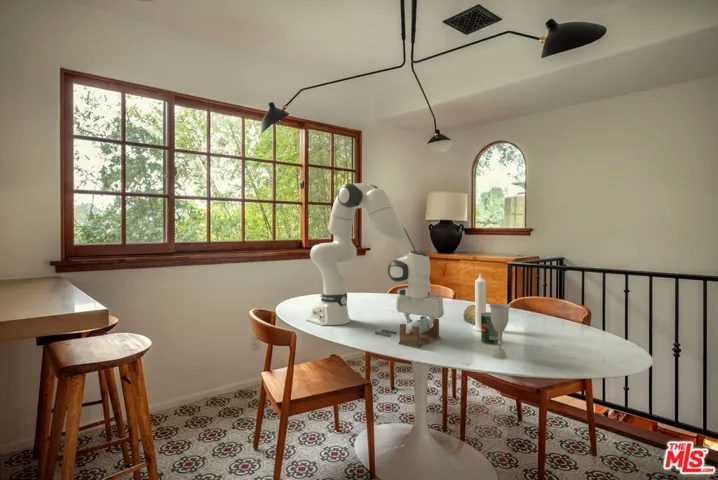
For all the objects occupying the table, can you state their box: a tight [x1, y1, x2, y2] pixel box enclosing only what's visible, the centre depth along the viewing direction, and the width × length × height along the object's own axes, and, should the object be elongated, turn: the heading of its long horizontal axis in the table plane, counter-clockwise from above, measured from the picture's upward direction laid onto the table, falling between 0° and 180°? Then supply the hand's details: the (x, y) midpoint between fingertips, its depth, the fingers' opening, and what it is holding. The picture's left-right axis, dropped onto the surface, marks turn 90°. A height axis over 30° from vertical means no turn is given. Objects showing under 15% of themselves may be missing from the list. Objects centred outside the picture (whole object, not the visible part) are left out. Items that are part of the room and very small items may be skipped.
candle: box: [472, 273, 487, 333], centre depth 174 cm, size 7×7×25 cm
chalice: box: [488, 303, 511, 360], centre depth 139 cm, size 7×7×18 cm
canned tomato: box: [480, 311, 503, 346], centre depth 156 cm, size 8×8×11 cm
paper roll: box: [405, 317, 431, 335], centre depth 159 cm, size 16×6×6 cm, turn 140°
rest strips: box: [374, 328, 398, 338], centre depth 170 cm, size 8×5×1 cm, turn 49°
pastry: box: [463, 304, 488, 326], centre depth 189 cm, size 14×12×8 cm
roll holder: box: [398, 316, 441, 349], centre depth 159 cm, size 17×9×8 cm, turn 139°
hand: (419, 325), depth 159 cm, fingers open, 8 cm apart
